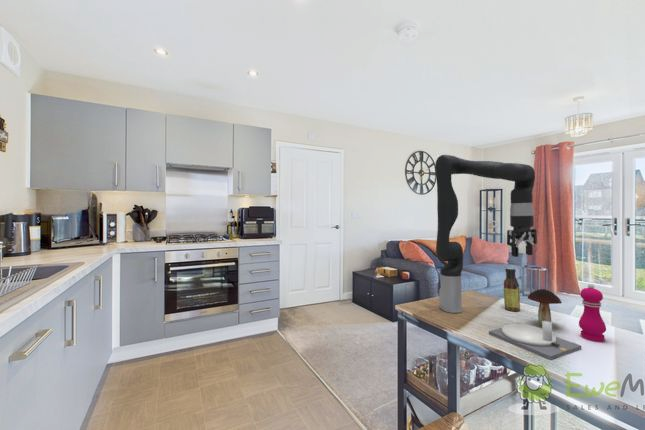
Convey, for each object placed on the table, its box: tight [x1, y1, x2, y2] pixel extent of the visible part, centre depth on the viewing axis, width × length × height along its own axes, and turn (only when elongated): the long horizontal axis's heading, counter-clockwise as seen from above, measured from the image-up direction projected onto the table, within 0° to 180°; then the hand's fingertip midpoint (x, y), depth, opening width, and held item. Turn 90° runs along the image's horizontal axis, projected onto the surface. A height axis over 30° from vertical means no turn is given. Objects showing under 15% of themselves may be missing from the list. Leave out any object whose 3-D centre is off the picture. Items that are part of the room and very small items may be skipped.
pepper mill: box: [578, 283, 607, 343], centre depth 102 cm, size 7×7×20 cm
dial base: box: [488, 327, 582, 361], centre depth 100 cm, size 21×17×1 cm
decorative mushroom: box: [527, 288, 562, 326], centre depth 114 cm, size 11×11×15 cm
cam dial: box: [501, 321, 559, 347], centre depth 101 cm, size 18×16×7 cm
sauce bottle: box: [503, 267, 521, 312], centre depth 133 cm, size 7×6×20 cm
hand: (522, 255), depth 109 cm, fingers open, 8 cm apart
